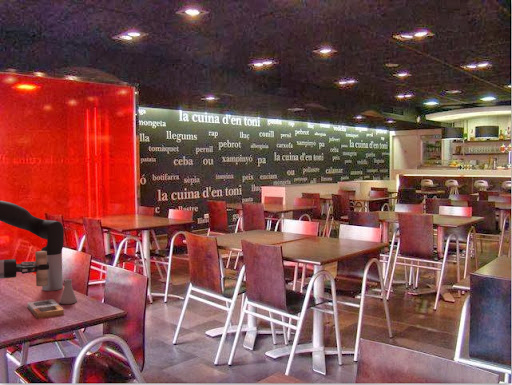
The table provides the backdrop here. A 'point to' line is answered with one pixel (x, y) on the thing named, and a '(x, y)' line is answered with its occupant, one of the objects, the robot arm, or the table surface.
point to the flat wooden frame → (45, 308)
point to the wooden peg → (41, 274)
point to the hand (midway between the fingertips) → (48, 265)
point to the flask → (68, 293)
